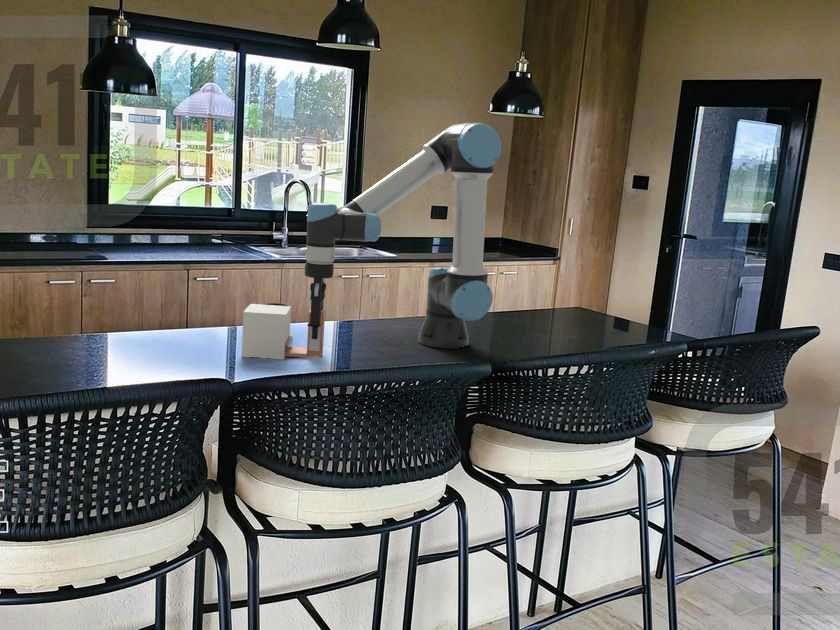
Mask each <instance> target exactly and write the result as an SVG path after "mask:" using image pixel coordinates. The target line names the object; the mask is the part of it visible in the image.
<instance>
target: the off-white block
mask: <svg viewBox="0 0 840 630" xmlns="http://www.w3.org/2000/svg"><path fill="white" fill-rule="evenodd" d="M291 315H292V306H289V305H288V306H277V305H264V304H260V303H259V304H258V303H250V304H249V305H248V306H247V307H246V308H245V309H244V310H243V314H242V337H241V340H242V341H241V345H242V346H241V357H242V358H250V357H261V358H260V359H266V358H270V360H282V361H283V360H285V358H286V356H285V348H289V347H291V346H290V345H291V344H292V342H293V339H294V336H293V335H291V318H292V316H291Z"/></svg>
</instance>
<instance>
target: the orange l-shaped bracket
mask: <svg viewBox="0 0 840 630" xmlns="http://www.w3.org/2000/svg"><path fill="white" fill-rule="evenodd" d="M310 315H311V308H310V309H309V310H308V319H307V320H308V321H307V343H306V347H299V346H289V348H285V357H292V358H293V357H294V358H307V357H314V358H315V357H316V358H323V353H324V341H325V340H324V339H325V338H324V337H325V336H324V335H325V321H326V316H325V315H326V310H325V309H323V310H321V318H320V326H321V329H320V348H319V351H312V350H309V338H310V326H308V324H310Z"/></svg>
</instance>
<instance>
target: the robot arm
mask: <svg viewBox="0 0 840 630" xmlns="http://www.w3.org/2000/svg"><path fill="white" fill-rule="evenodd" d="M501 153H502V142H501V139H500V136H499V134H498V132H497V131H496V130H495V129H494V128H493V127H491V126H490V125H488V124H485V123H482V122H477V121H476V122H466V123H465V122H464V123H461V122H459V123H455V124H453V125H450V126H449V127H447V128H446V129H444V130H443V131H441V132H440V133H439V134H437V135H436V136H435V137H433V138H432V139H431V140H430V141H428V142H426V143H425V144H424V145H422V151H420V152H419V153H417V154H416V155H415V156H413V157H412V158H410V159H409V160H407V162H405V163H403V164H402V165H401V166H399V167H398V168H396V169H395V170H393V171H392V172H391V173H389V174H388V175H386V176H385V177H384V178H382V179H381V180H379V181H377V182H376V183H375V184H374V185H372V186H371V187H370V188H368V189H367V190H365V191H363V193H361V194H360V195H358V196H357V197H355V198H354V199H352V201H350V202H348V203H347V204H345V205H344V206H339V207H337V205H336V204H335V203H330V202H329V203H328V202H311V203H310V204H309V205H308V208H307V209H308V211H307V219H306V244H305V246H306V247H304V249H303V252H304V253H305V260H306V261H305V263H304V275H305V277H307V278H312V279H313V281H312V282H311V283H310V285H309V287H310V288H309V290H310V301H311V302H310V309H311V315H310V324H308V323H307V327H308V326H310V338H309V350H312V351H319V348H320V329H321V326H320V318H321V310H324V302H325V300H324V299H326V290H327V283H326V281H324V279H325V280H326V279H331V278H333V276H334V268H335V264H333V263H334V261H335V254H336V253H335V252H336V241H349V242H350V241H352V242H365V243H367V242H376V241H378V240H379V238H380V236H381V231H382V222H381V217H380V215H381V214H382V213H383V212H385V211H386V210H387V209H389V208H390V207H391V206H394V205H395V204H396V203H397V202H399V201H400V200H402V199H403V198H404V197H407V195H409V194H410V193H411V192H413V191H414V190H415V189H417V188H418V187H420V186H421V185H423V184H424V183H426V182H427V181H428V180H430V179H431V178H433V177H434V176H435V175H436V174H441V175H442V174H444V173H446V172H447V171H449V170H450V172H451V174H452V175H453V176H454V177H455V200H454V221H453V223H454V224H453V241H452V243H453V244H452V245H453V246H452V264H451V265H450V266H449V267H432V268H430V270H429V274H428V278H427V281H428V282H427V296H426V309H425V312H426V313H425V317H424V320H423V323H422V326H421V327H420V330H419V332H418V338H417V342H419V344H421V345H424V346H427V347H431V348H439V349H460V348H459V347H463V346H466V345H468V346H469V338H470V337H469V333H468V329H467V325H466V321H470V322H473V321H478V320H480V319H482V318H483V317H484V316H485V315H486V314H487V313H488V312H489V311H490V309H491V307H492V305H493V300H494V296H493V295H494V294H493V292H492V289H491V287H490V286H489V284H488V275H489V272H488V271H487V269H486V268H485V267H484V249H485V229H486V210H487V194H488V180H489V179H490V178H491V177H492V176H493V175H494V167H495V166H494V165H495V163H496V162H497V161H498V160H499V158H500V155H501ZM463 348H464V347H463Z"/></svg>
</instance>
